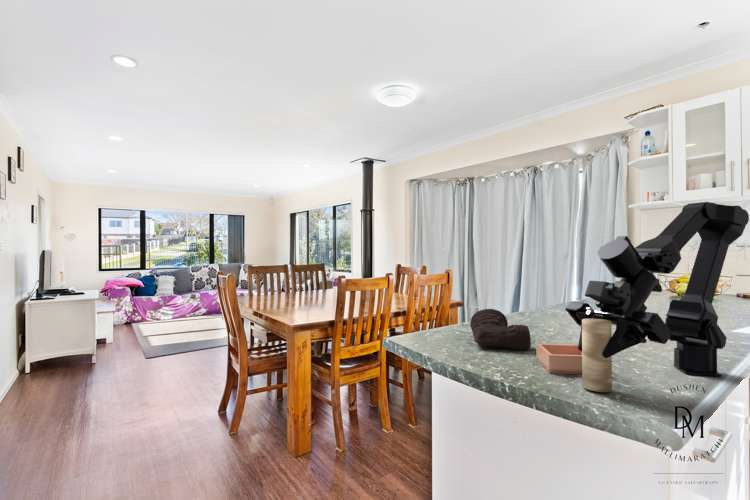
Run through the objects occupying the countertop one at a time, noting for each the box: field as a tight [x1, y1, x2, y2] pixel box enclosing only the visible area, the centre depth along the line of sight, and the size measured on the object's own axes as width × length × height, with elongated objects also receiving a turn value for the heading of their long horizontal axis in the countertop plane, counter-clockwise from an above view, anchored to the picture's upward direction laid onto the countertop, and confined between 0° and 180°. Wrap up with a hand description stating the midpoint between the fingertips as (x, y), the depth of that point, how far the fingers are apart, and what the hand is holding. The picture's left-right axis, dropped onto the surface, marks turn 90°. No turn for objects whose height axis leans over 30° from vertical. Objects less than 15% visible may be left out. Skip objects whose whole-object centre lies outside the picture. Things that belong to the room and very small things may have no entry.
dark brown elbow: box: [469, 308, 532, 351], centre depth 111 cm, size 10×15×15 cm
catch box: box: [535, 343, 582, 375], centre depth 90 cm, size 11×11×4 cm
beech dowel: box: [581, 319, 613, 393], centre depth 75 cm, size 5×5×13 cm
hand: (591, 353), depth 75 cm, fingers closed on beech dowel, 5 cm apart
